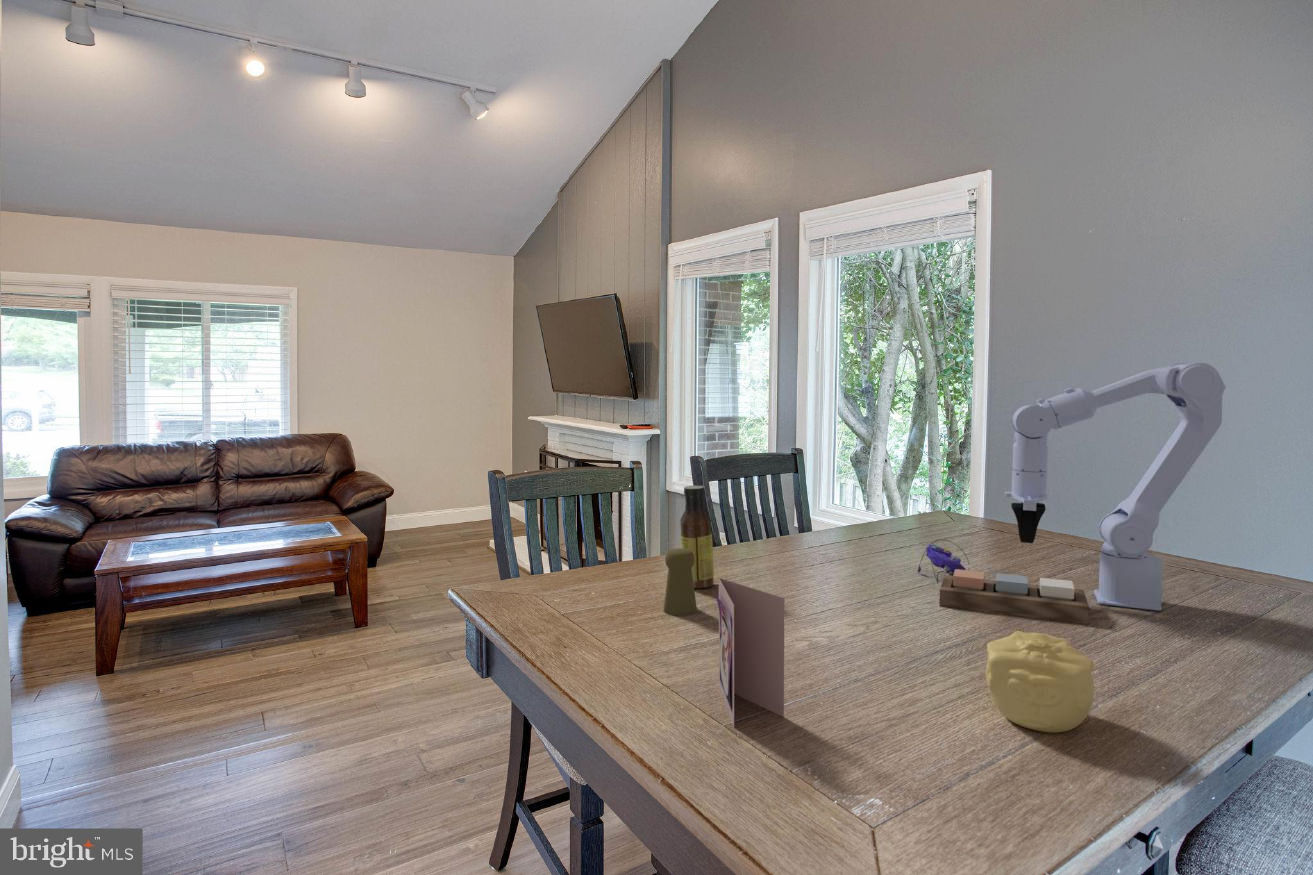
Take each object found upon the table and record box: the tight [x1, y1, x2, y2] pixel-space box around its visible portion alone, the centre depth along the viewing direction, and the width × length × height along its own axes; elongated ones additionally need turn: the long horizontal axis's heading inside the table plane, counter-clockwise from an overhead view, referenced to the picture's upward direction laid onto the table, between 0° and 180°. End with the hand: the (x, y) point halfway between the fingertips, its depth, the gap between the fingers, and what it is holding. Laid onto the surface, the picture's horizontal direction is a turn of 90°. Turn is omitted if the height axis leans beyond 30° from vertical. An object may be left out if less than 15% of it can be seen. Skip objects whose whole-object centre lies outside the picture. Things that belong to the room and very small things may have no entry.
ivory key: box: [1039, 577, 1075, 601], centre depth 126 cm, size 5×5×3 cm
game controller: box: [917, 538, 970, 584], centre depth 149 cm, size 10×8×10 cm
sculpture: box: [985, 630, 1095, 734], centre depth 87 cm, size 12×12×11 cm
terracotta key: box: [952, 569, 985, 591], centre depth 132 cm, size 5×5×3 cm
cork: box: [663, 547, 698, 617], centre depth 129 cm, size 6×6×11 cm
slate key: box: [995, 572, 1029, 596], centre depth 129 cm, size 5×5×3 cm
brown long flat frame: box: [938, 575, 1090, 625], centre depth 129 cm, size 23×10×3 cm, turn 64°
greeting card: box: [713, 577, 785, 728], centre depth 92 cm, size 11×7×15 cm, turn 4°
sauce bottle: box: [679, 484, 715, 590], centre depth 143 cm, size 7×6×20 cm
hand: (1026, 542), depth 135 cm, fingers closed
